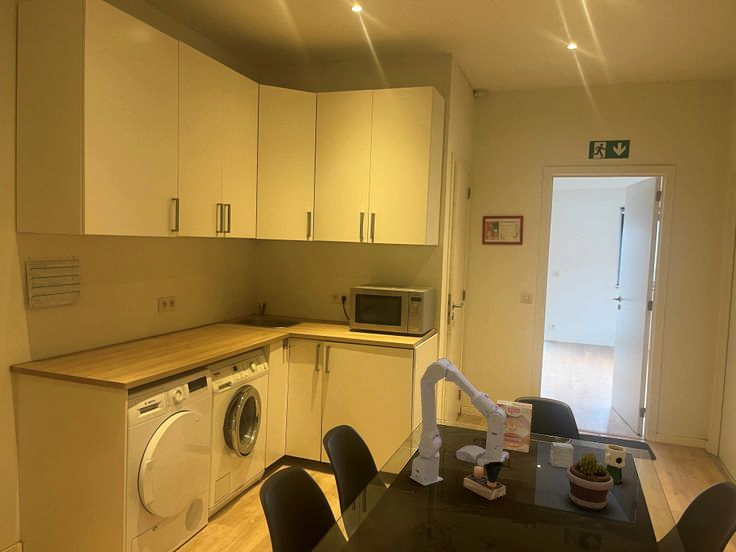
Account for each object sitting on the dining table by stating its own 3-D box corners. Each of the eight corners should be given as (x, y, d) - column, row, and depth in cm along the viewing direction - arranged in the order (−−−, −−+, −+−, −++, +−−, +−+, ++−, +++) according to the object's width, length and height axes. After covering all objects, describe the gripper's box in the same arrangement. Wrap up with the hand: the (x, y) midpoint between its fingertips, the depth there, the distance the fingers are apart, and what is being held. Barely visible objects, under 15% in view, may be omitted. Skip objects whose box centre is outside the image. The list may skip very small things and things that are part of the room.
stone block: (453, 462, 213) (476, 465, 207) (452, 450, 214) (475, 452, 208) (466, 455, 223) (488, 457, 217) (465, 444, 223) (487, 445, 217)
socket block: (490, 500, 178) (490, 489, 178) (463, 486, 187) (464, 476, 187) (505, 494, 183) (505, 484, 183) (478, 481, 192) (479, 471, 192)
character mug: (612, 487, 194) (615, 453, 194) (595, 479, 201) (598, 446, 200) (630, 482, 200) (633, 449, 199) (613, 475, 206) (616, 442, 205)
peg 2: (491, 494, 180) (492, 484, 180) (484, 490, 183) (485, 481, 183) (497, 492, 182) (498, 482, 182) (490, 488, 185) (491, 479, 185)
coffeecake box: (492, 447, 228) (496, 403, 227) (493, 441, 235) (497, 398, 234) (528, 453, 224) (532, 408, 223) (528, 447, 231) (532, 403, 230)
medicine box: (569, 464, 214) (571, 443, 214) (572, 468, 210) (574, 447, 209) (549, 462, 215) (551, 441, 214) (552, 466, 210) (553, 445, 210)
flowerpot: (571, 489, 190) (576, 435, 189) (616, 504, 181) (621, 447, 180) (557, 503, 179) (562, 445, 178) (604, 519, 169) (610, 459, 168)
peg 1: (478, 480, 185) (479, 470, 185) (471, 476, 188) (472, 467, 187) (484, 478, 187) (485, 468, 187) (477, 474, 189) (478, 465, 189)
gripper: (490, 451, 174) (487, 491, 175) (517, 443, 183) (514, 481, 184) (473, 444, 180) (471, 483, 180) (500, 437, 189) (498, 474, 189)
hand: (491, 482), depth 182 cm, fingers closed, pressing on peg 2
